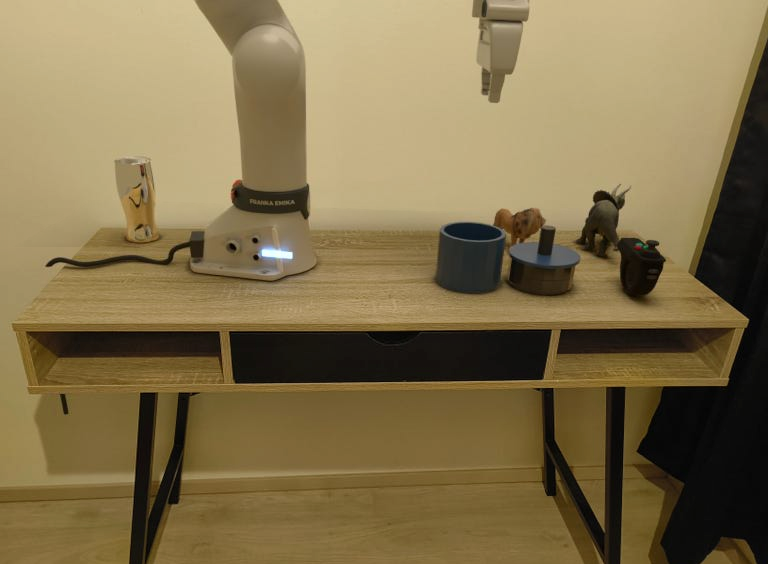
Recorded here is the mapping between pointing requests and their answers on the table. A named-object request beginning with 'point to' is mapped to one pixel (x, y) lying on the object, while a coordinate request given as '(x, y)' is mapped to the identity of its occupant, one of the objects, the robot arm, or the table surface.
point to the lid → (544, 252)
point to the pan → (540, 278)
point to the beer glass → (137, 197)
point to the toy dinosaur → (603, 221)
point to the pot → (470, 257)
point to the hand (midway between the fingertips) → (489, 98)
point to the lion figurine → (519, 223)
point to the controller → (639, 265)
